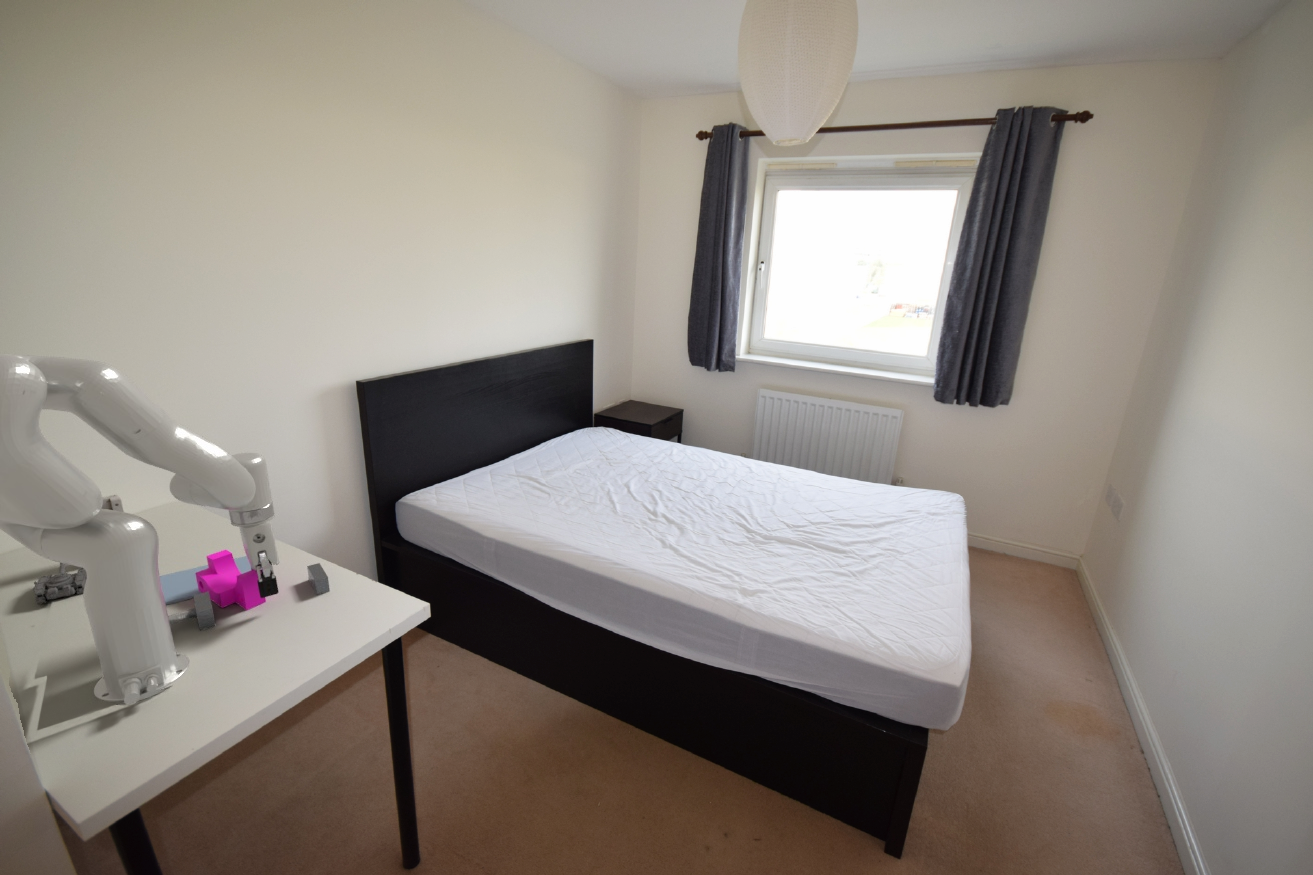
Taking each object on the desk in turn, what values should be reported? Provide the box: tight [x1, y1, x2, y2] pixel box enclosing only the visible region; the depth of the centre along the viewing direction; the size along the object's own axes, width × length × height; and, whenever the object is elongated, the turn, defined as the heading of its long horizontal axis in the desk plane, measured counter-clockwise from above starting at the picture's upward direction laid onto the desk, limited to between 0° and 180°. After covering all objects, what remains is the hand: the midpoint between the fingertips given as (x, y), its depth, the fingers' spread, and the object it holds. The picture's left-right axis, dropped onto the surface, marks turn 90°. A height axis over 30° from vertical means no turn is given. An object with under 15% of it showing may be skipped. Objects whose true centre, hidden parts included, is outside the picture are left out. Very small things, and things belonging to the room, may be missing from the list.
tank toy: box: [32, 562, 87, 605], centre depth 124 cm, size 12×10×5 cm
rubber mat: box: [159, 555, 251, 606], centre depth 130 cm, size 14×22×1 cm, turn 131°
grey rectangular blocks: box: [168, 562, 331, 632], centre depth 120 cm, size 8×28×4 cm, turn 131°
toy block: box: [195, 549, 267, 611], centre depth 122 cm, size 15×6×8 cm, turn 59°
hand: (265, 585), depth 122 cm, fingers open, 9 cm apart
